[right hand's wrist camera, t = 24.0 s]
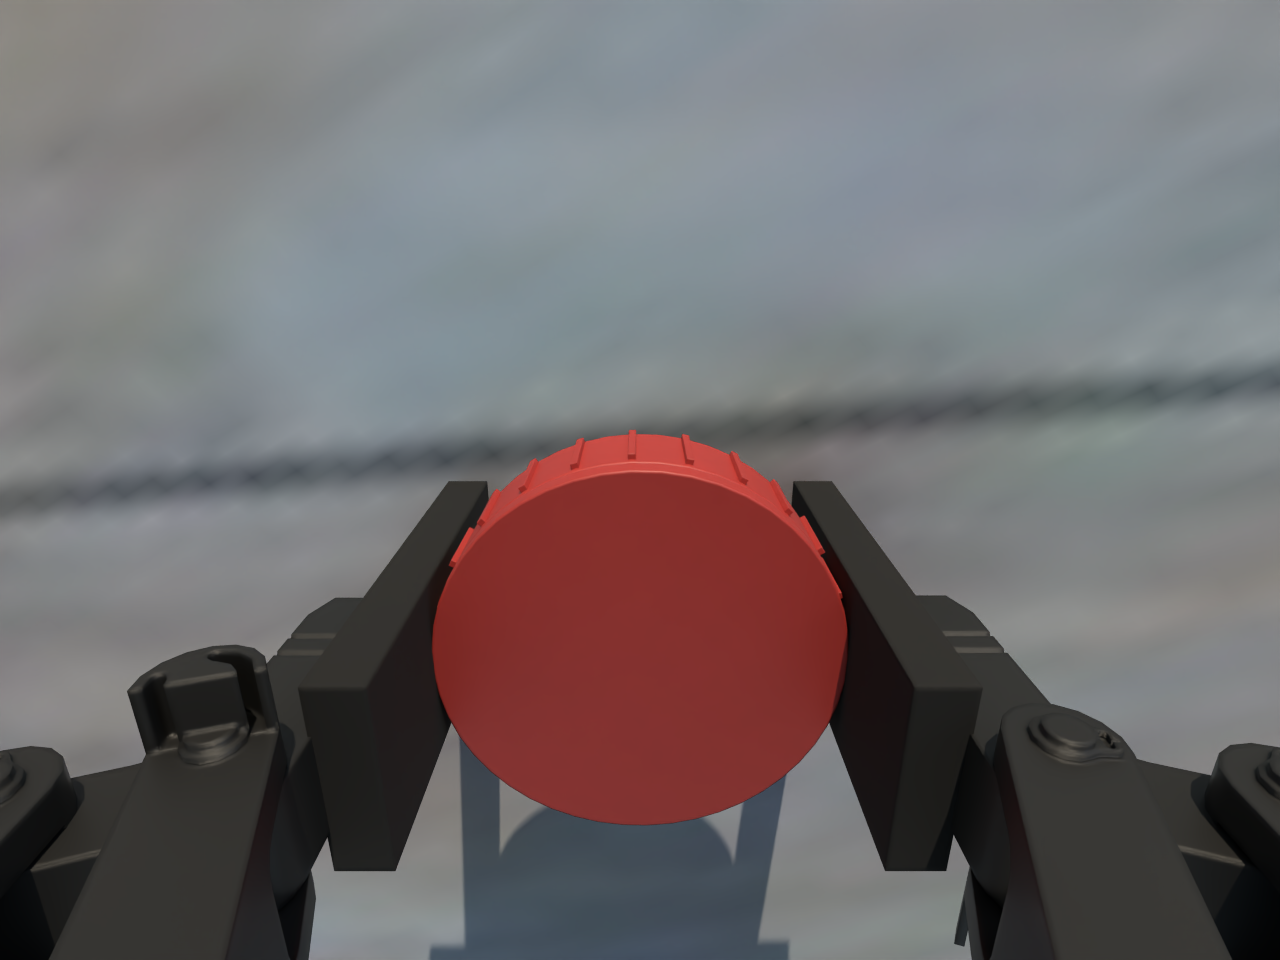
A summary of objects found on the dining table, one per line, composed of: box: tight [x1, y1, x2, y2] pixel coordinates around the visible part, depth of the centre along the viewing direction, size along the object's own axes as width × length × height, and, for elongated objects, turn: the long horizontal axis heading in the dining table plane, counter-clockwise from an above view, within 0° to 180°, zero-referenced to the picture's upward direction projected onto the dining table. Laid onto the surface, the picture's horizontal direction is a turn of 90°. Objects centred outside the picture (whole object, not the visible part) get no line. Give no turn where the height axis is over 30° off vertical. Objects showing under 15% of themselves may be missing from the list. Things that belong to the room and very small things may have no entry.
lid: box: [432, 430, 848, 825], centre depth 11 cm, size 6×6×2 cm
